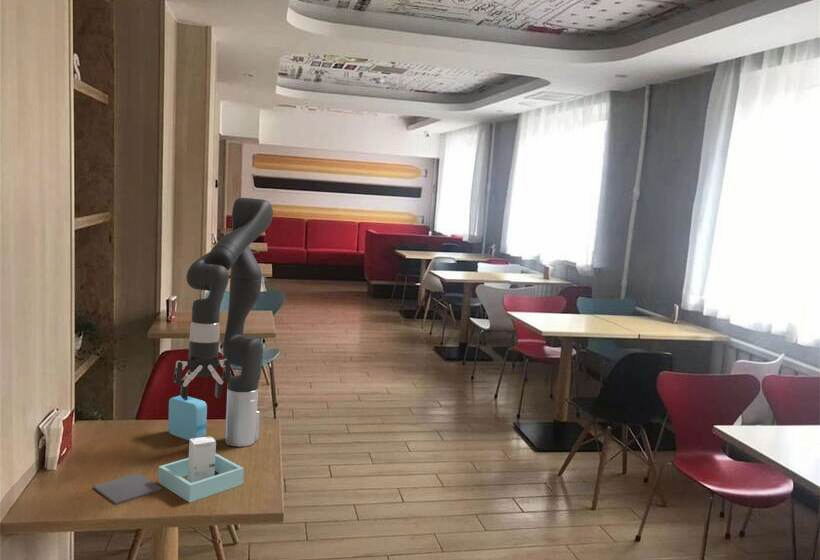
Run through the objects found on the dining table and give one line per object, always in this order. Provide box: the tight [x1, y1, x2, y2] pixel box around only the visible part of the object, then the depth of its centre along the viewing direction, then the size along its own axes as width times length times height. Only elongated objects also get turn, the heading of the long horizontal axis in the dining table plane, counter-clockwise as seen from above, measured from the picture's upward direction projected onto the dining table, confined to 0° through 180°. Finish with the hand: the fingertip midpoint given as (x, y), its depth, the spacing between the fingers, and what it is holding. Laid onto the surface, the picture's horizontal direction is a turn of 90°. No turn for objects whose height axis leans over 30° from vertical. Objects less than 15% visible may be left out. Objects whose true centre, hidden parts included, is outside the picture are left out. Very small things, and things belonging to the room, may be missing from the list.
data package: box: [167, 394, 208, 441], centre depth 206 cm, size 12×4×12 cm, turn 61°
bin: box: [157, 452, 245, 503], centre depth 175 cm, size 16×15×4 cm
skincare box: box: [187, 436, 217, 483], centre depth 175 cm, size 6×4×12 cm
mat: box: [92, 472, 163, 505], centre depth 169 cm, size 12×12×1 cm
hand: (201, 398), depth 177 cm, fingers open, 8 cm apart
